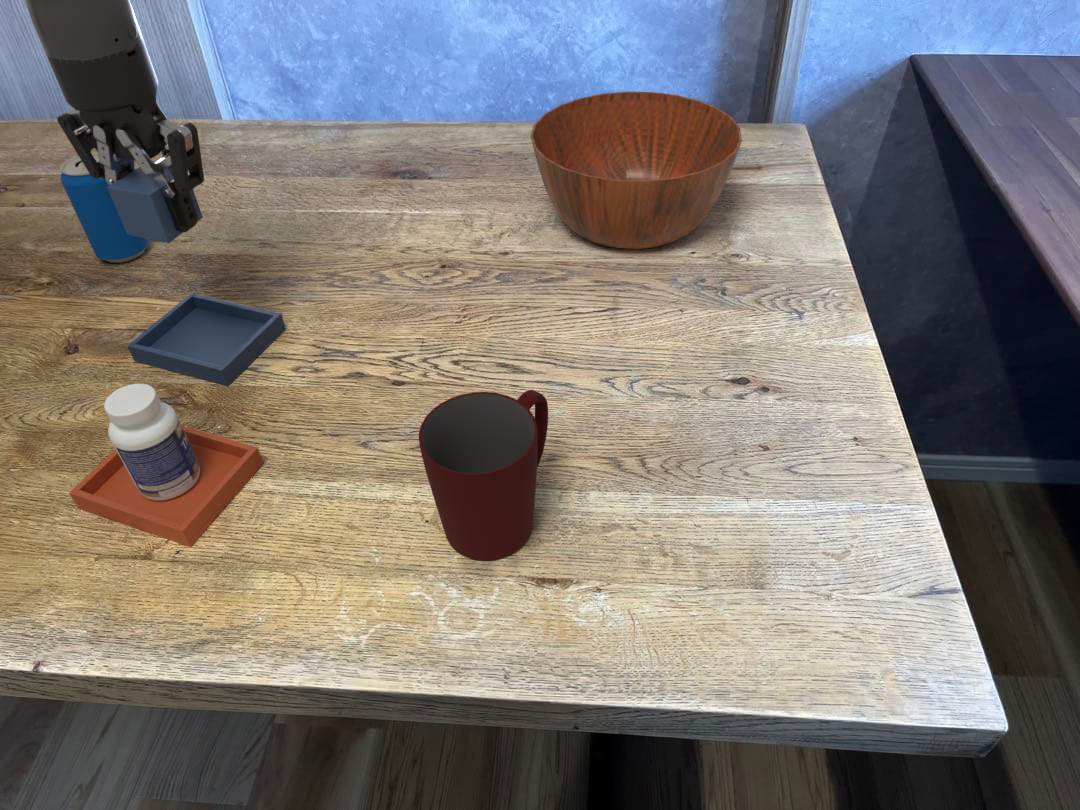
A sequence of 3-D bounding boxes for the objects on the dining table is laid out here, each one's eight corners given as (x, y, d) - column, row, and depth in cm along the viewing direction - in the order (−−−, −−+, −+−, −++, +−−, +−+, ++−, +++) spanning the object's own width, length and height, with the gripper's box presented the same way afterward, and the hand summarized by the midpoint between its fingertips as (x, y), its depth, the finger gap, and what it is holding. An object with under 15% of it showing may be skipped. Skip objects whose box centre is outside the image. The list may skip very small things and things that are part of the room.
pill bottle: (213, 478, 73) (176, 397, 66) (156, 513, 70) (111, 431, 63) (184, 449, 75) (146, 368, 69) (128, 481, 73) (83, 400, 66)
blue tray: (134, 361, 86) (126, 345, 85) (196, 307, 93) (190, 292, 92) (228, 386, 83) (222, 370, 81) (286, 328, 90) (281, 313, 88)
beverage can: (144, 233, 106) (108, 145, 98) (157, 255, 102) (120, 165, 94) (92, 249, 104) (51, 160, 96) (103, 271, 100) (61, 181, 92)
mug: (508, 451, 75) (500, 357, 67) (585, 496, 70) (586, 401, 63) (414, 532, 68) (393, 438, 61) (493, 587, 64) (481, 493, 56)
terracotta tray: (78, 508, 71) (68, 492, 70) (158, 432, 78) (150, 416, 77) (190, 547, 68) (182, 531, 66) (264, 463, 75) (257, 447, 73)
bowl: (684, 292, 92) (694, 200, 85) (497, 240, 102) (490, 154, 94) (757, 196, 108) (770, 111, 100) (589, 159, 118) (589, 79, 110)
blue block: (127, 235, 78) (106, 186, 74) (162, 210, 81) (144, 163, 78) (168, 243, 76) (149, 194, 73) (203, 217, 80) (186, 170, 76)
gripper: (-9, 47, 67) (78, 230, 78) (128, 64, 62) (199, 256, 74) (61, 18, 72) (133, 194, 83) (193, 32, 67) (249, 216, 79)
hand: (164, 222), depth 78 cm, fingers closed on blue block, 5 cm apart
